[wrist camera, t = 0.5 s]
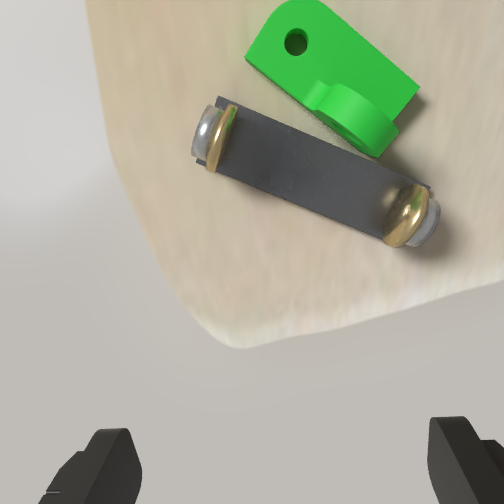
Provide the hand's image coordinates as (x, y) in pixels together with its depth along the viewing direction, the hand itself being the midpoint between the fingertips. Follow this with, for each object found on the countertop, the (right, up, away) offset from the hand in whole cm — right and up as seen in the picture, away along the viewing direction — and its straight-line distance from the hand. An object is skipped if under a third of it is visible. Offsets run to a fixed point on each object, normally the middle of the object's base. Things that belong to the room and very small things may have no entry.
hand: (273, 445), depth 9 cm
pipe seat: (+5, +12, +21) cm, 25 cm away
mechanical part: (+6, +20, +19) cm, 28 cm away
